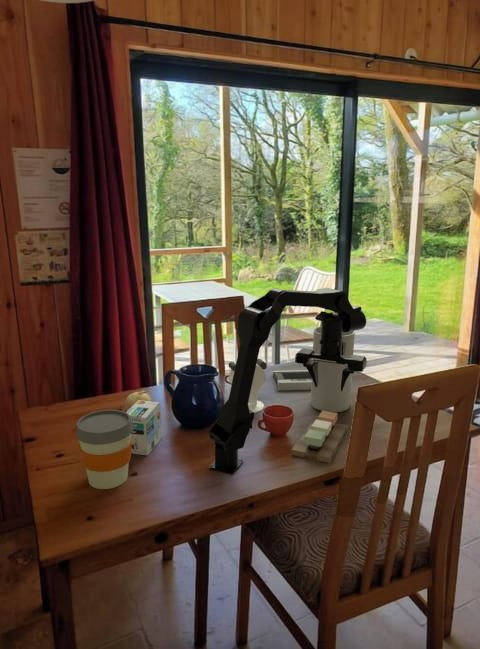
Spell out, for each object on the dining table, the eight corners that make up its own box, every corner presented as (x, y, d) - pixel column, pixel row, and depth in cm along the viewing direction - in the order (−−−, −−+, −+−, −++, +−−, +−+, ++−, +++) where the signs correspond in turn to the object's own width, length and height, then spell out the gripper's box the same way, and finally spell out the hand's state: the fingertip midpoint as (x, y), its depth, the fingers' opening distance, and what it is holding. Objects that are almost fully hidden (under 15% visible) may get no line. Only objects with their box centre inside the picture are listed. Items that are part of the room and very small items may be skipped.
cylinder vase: (349, 399, 163) (353, 326, 156) (350, 415, 151) (355, 337, 145) (311, 396, 165) (314, 324, 159) (309, 412, 153) (313, 335, 147)
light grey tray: (278, 382, 169) (272, 363, 185) (277, 394, 171) (272, 374, 186) (327, 381, 170) (317, 362, 186) (326, 393, 172) (316, 374, 187)
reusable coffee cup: (122, 496, 110) (118, 435, 106) (70, 490, 112) (65, 430, 108) (143, 466, 122) (140, 411, 118) (95, 462, 124) (91, 407, 120)
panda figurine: (257, 397, 164) (258, 354, 160) (271, 410, 154) (272, 365, 150) (223, 402, 160) (223, 358, 156) (235, 416, 150) (235, 370, 146)
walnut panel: (329, 463, 123) (329, 457, 123) (291, 454, 128) (291, 449, 127) (347, 430, 141) (347, 425, 141) (313, 423, 145) (313, 418, 145)
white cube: (326, 441, 131) (327, 429, 130) (311, 437, 133) (311, 425, 132) (331, 434, 135) (331, 422, 134) (315, 430, 137) (316, 419, 136)
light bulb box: (148, 456, 127) (146, 418, 124) (123, 453, 128) (121, 415, 125) (162, 437, 137) (161, 401, 134) (139, 434, 138) (138, 399, 135)
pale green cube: (320, 452, 125) (320, 439, 124) (303, 448, 127) (304, 436, 126) (324, 444, 129) (325, 432, 128) (308, 441, 131) (309, 429, 130)
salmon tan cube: (333, 430, 137) (333, 419, 136) (317, 427, 138) (318, 416, 138) (336, 424, 141) (337, 413, 140) (322, 421, 142) (322, 410, 141)
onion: (144, 418, 148) (142, 397, 146) (121, 415, 151) (119, 393, 149) (156, 408, 156) (155, 387, 154) (134, 405, 158) (133, 384, 156)
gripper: (372, 331, 136) (368, 383, 140) (307, 324, 144) (305, 374, 148) (364, 342, 126) (360, 398, 130) (295, 334, 134) (293, 387, 138)
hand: (329, 388), depth 137 cm, fingers open, 7 cm apart
